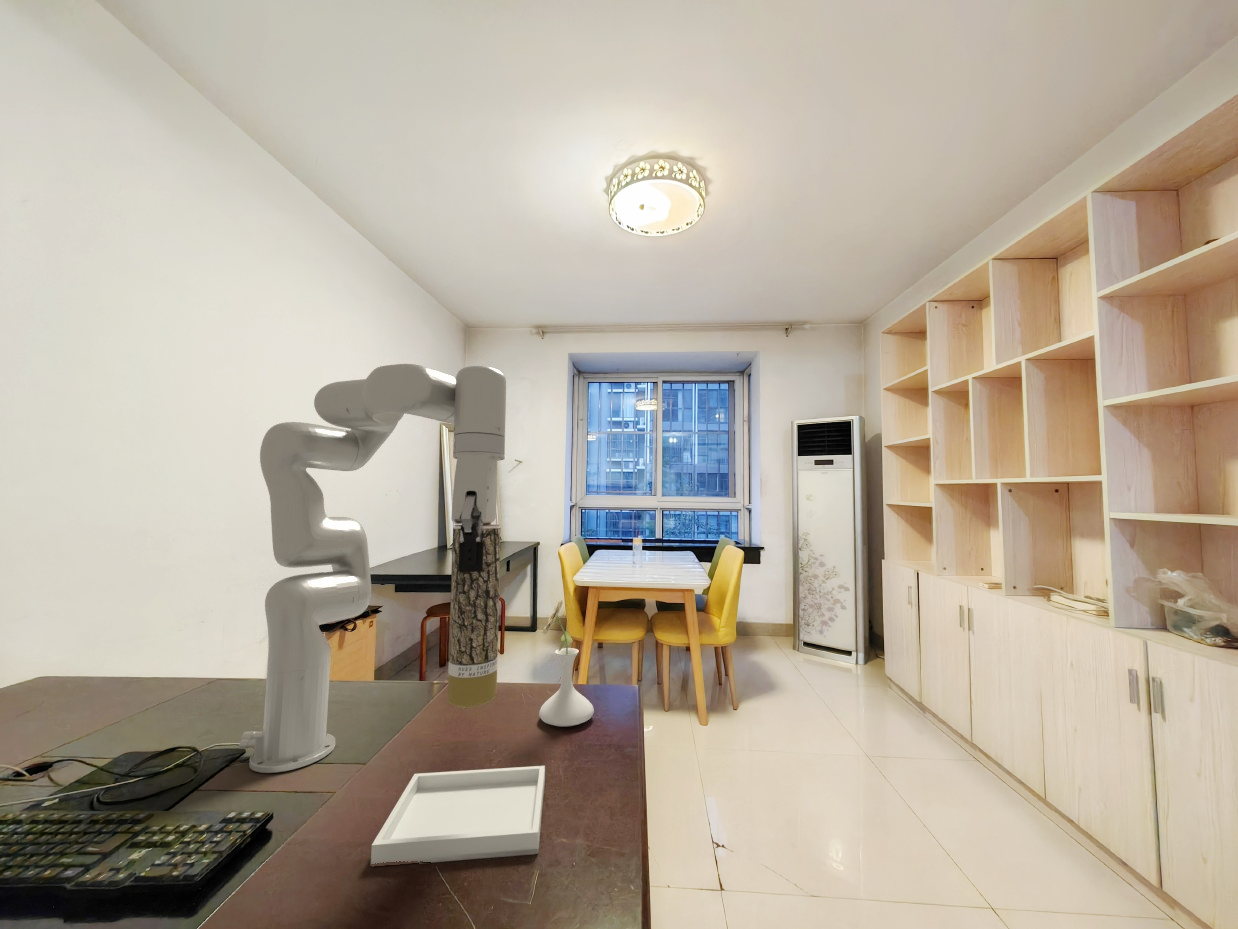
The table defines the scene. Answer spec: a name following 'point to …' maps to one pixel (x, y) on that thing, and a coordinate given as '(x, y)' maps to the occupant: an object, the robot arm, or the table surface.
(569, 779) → the table surface
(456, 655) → the paper tube
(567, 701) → the flower in vase
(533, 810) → the tray
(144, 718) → the table surface
